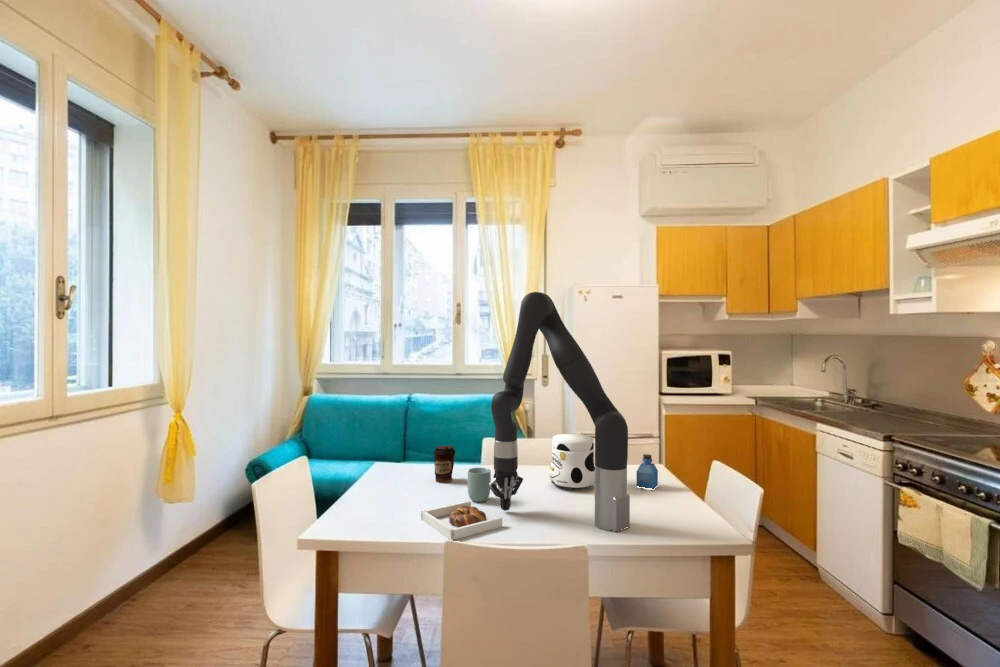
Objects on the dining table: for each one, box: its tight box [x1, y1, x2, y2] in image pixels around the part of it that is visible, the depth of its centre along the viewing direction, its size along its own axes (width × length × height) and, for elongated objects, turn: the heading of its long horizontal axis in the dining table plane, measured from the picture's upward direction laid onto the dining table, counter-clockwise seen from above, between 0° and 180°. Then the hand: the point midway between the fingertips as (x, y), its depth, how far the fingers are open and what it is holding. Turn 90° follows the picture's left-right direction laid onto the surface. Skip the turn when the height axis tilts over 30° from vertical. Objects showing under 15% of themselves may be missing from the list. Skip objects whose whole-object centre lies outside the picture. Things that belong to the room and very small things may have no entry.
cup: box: [467, 467, 492, 503], centre depth 158 cm, size 8×8×10 cm
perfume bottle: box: [635, 453, 659, 489], centre depth 175 cm, size 6×6×12 cm
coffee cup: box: [433, 445, 456, 483], centre depth 180 cm, size 9×8×13 cm
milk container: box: [548, 433, 595, 491], centre depth 176 cm, size 17×17×18 cm
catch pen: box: [420, 500, 503, 541], centre depth 138 cm, size 18×17×2 cm
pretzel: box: [448, 506, 487, 528], centre depth 140 cm, size 12×11×4 cm
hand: (505, 509), depth 147 cm, fingers closed
